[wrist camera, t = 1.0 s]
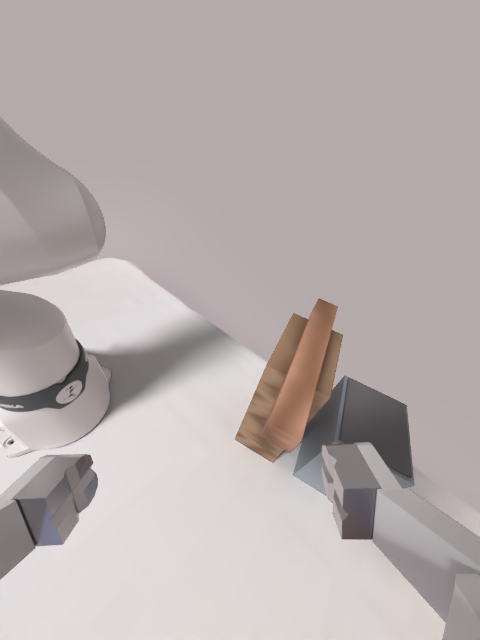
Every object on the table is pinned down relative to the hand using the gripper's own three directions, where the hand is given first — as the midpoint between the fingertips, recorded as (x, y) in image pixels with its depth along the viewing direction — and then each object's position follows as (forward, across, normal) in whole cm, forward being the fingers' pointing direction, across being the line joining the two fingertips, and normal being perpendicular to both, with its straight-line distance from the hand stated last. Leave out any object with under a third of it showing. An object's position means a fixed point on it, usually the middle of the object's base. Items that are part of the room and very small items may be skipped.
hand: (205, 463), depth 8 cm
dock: (+30, -14, +31) cm, 46 cm away
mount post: (+34, -3, +26) cm, 43 cm away
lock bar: (+21, -8, +6) cm, 23 cm away
